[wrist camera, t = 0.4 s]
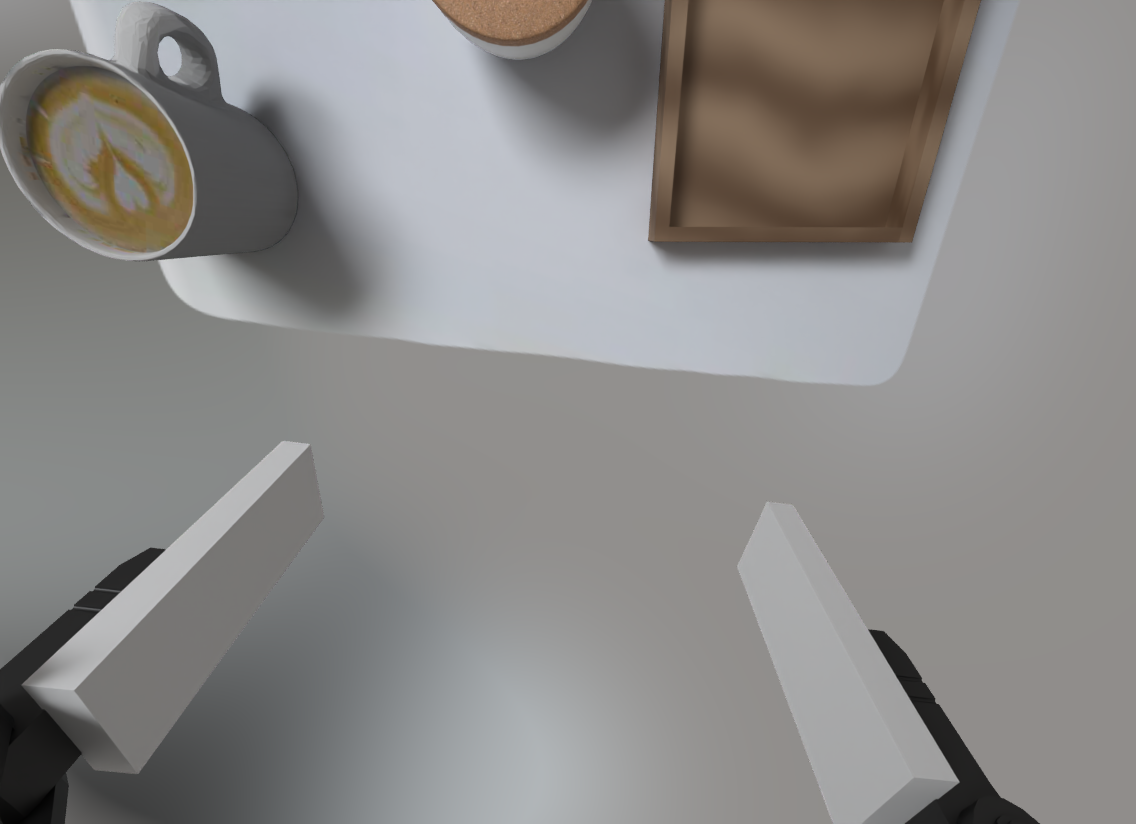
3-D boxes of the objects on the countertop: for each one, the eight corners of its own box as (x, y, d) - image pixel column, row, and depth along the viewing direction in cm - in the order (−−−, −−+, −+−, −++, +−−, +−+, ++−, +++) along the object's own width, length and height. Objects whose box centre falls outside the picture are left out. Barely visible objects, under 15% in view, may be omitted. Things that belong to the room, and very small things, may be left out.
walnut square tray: (670, -90, 27) (680, -119, 25) (975, -87, 28) (1013, -115, 25) (648, 240, 35) (654, 241, 32) (888, 241, 35) (911, 242, 33)
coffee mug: (274, 276, 36) (174, 294, 26) (143, 204, 33) (-16, 197, 24) (333, 107, 31) (237, 59, 22) (187, 12, 29) (13, -86, 20)
